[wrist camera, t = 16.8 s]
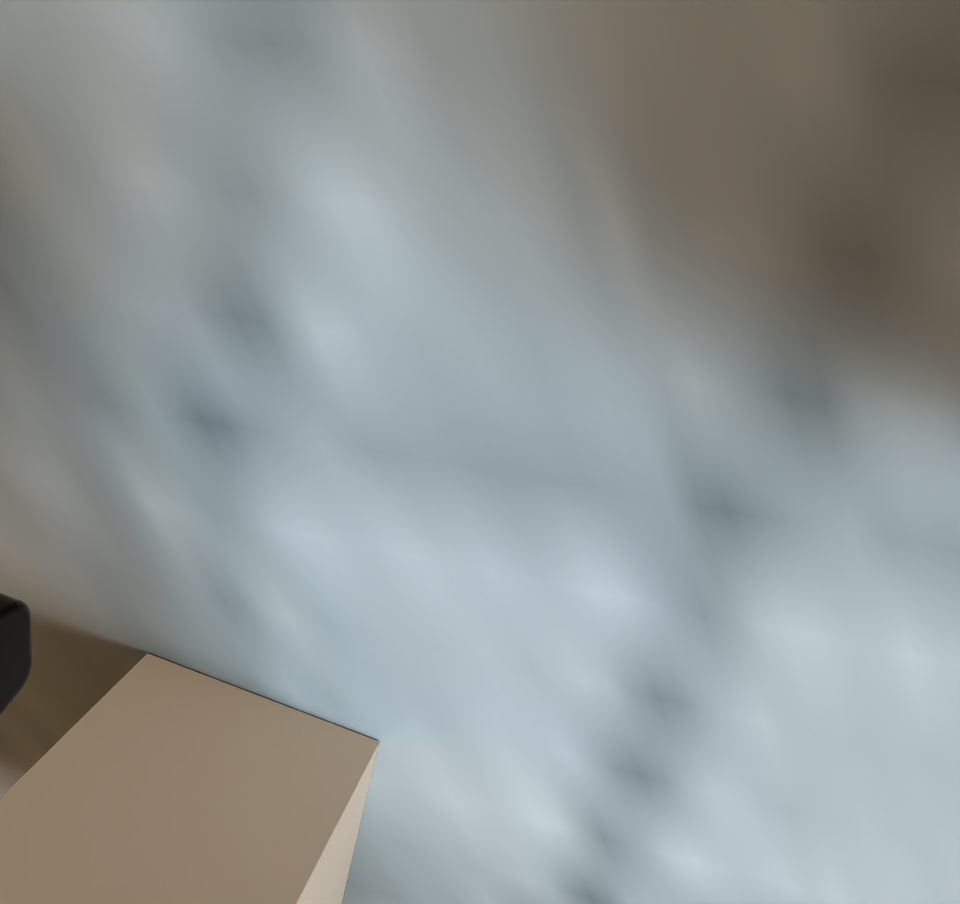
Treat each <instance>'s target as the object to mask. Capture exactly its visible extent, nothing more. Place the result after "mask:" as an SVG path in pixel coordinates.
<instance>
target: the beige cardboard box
mask: <svg viewBox="0 0 960 904" xmlns="http://www.w3.org/2000/svg"><path fill="white" fill-rule="evenodd" d="M378 747H379V741H376V740H374V739H371V738H369V737H366V736H363V735H361V734H358V733H355V732H353V731H350V730H348V729H345V728H342V727H340V726H337V725H334V724H332V723H329V722H327V721H324V720H321V719H319V718H316V717H313V716H311V715H308V714H306V713H303V712H300V711H298V710H295V709H292V708H290V707H287V706H285V705H282V704H279V703H277V702H274V701H271V700H269V699H266V698H264V697H261V696H258V695H256V694H253V693H250V692H248V691H245V690H243V689H240V688H237V687H235V686H232V685H229V684H227V683H224V682H222V681H219V680H216V679H214V678H211V677H208V676H206V675H203V674H201V673H198V672H195V671H193V670H190V669H187V668H185V667H182V666H180V665H177V664H174V663H172V662H169V661H166V660H164V659H161V658H159V657H156V656H153V655H151V654H148V653H147V654H146V655H145V656H144V657H143V658H142V659H141V660H140V661H139V662H138V663H137V664H136V665H135V666H134V667H133V668H132V669H131V670H130V671H129V672H128V673H127V674H126V675H125V676H124V677H123V678H122V679H121V680H120V681H119V682H118V683H117V684H116V685H115V686H114V687H113V688H112V689H111V690H110V691H109V692H108V693H107V694H106V695H105V696H104V697H103V698H102V699H101V700H100V701H99V702H98V703H97V704H95V705H94V706H93V707H92V708H91V709H90V710H89V711H88V712H87V713H86V714H85V715H84V716H83V717H82V718H81V719H80V720H79V721H78V722H77V723H76V724H75V725H74V726H73V727H72V728H71V729H70V730H69V731H68V732H67V733H66V734H65V735H64V736H63V737H62V738H61V739H60V740H59V741H58V742H57V743H56V744H55V745H54V746H53V747H52V748H51V749H50V750H49V751H48V752H47V753H46V754H45V755H44V756H43V757H42V758H41V759H40V760H39V761H38V762H37V763H36V764H35V765H34V766H33V767H32V768H30V769H29V770H28V771H27V772H26V773H25V774H24V775H23V776H22V777H21V778H20V779H19V780H18V781H17V782H16V783H15V784H14V785H13V786H12V787H11V788H10V789H9V790H8V791H7V792H6V793H5V794H4V795H3V796H2V797H1V798H0V904H342V899H343V895H344V891H345V887H346V882H347V878H348V874H349V870H350V865H351V861H352V857H353V853H354V848H355V844H356V840H357V836H358V831H359V827H360V823H361V819H362V814H363V810H364V806H365V802H366V798H367V793H368V789H369V785H370V781H371V776H372V772H373V768H374V764H375V759H376V755H377V751H378Z"/></svg>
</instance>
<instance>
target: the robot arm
mask: <svg viewBox="0 0 960 904" xmlns="http://www.w3.org/2000/svg"><path fill="white" fill-rule="evenodd" d="M31 664H32V648H31V613H30V610H29V608H28V606H27V605H26V604H25V603H24V602H22V601H19V600H17V599H14V598H11V597H9V596H6V595H3V594H1V593H0V714H1V713H2V712H3V711H4V709H5V708H6V707H7V706H8V704H9V703H10V702H11V701H12V700H13V698H14V697H15V696H16V695H17V693H18V692H19V691H20V690H21V688H22V687H23V685H24V683H25V682H26V680H27V678H28V675H29V673H30V669H31Z"/></svg>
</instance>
